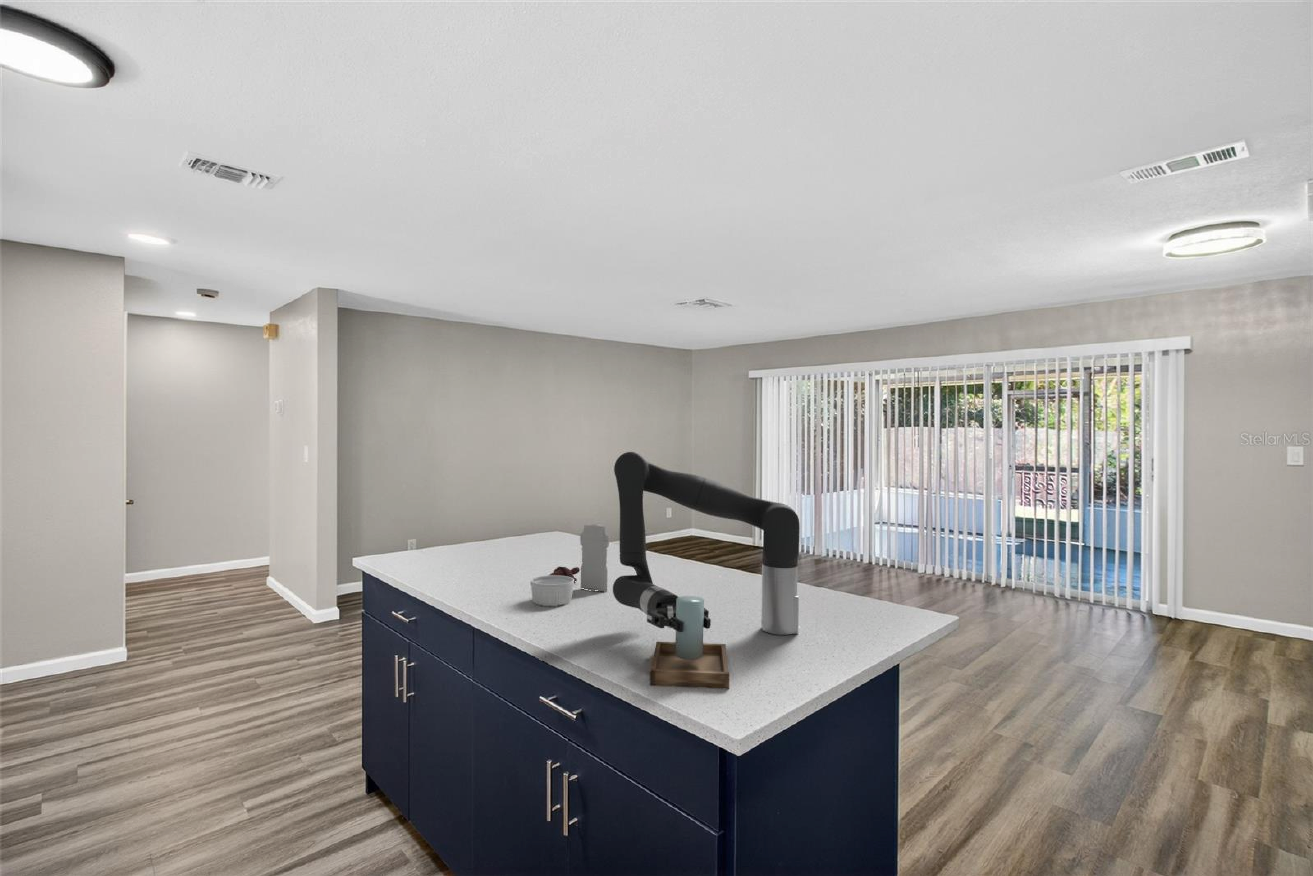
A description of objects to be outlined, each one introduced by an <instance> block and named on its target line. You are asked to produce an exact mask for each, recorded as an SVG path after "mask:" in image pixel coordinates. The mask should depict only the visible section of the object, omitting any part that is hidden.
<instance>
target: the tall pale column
mask: <svg viewBox="0 0 1313 876" xmlns="http://www.w3.org/2000/svg"><path fill="white" fill-rule="evenodd" d="M583 525H584V526H583V530H582V532H581V533H580V538H579V539H580V540H579V541H580V545H581V567H580V589H581V588H584V589H588V590H591V591H590V592H592V591H595V590H598V591H607V592H608V566H607V564H608V562H607V561H608V548H609V547H610V546H609V545H610V536H609V535H608V533H607V531H606V526H605V525H602V524H597V523H589V524H583ZM595 592H596V591H595Z"/></svg>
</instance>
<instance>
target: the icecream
mask: <svg viewBox="0 0 1313 876" xmlns="http://www.w3.org/2000/svg"><path fill="white" fill-rule="evenodd" d="M579 572H581V568H580V567H578V566H575V567H572V568H571V569H569V568H568V567H566V566H558V567H556V568H555V569H554V570H553V572H552V573H550V574H549V575H559V576H568V577H571V578H573V579H574V582H575V581H576V582H577V578H576V577H575V576H574V575H577V574H579ZM576 582H575V583H576Z"/></svg>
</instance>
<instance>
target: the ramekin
mask: <svg viewBox="0 0 1313 876" xmlns="http://www.w3.org/2000/svg"><path fill="white" fill-rule="evenodd" d="M529 584H530V586H531V588H530V589H531V596H532V597H531V598H532V602H534V604H535V605H537V604H538V605H537V606H540V605H542V606H541V607H549V606H552V607H558V606H557V605H562V604H565V605H567V603H568V604H569V603H570V602H571V601H572V598H573V592H574V591H573V590H574V585H575V583H574V579H573V578H571V577H568V576H559V575H550V574H548V575H540V576H535V577H533V578H531V579H530V583H529ZM562 606H563V605H562Z"/></svg>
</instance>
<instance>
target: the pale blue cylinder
mask: <svg viewBox="0 0 1313 876" xmlns="http://www.w3.org/2000/svg"><path fill="white" fill-rule="evenodd" d="M704 608H705V599H704V598H702V597H699V596H696V595H684V596H683V595H681V596H678V598H677V599H676V618H677V619H679V620H680V621H682V622H683V632H678V631H676V630H675V641H674V642H675V655H676V656H677V657H678V658H681V659H685V660H696V659H700V658H702V657H703V643H704V629H705V628H704Z"/></svg>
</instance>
